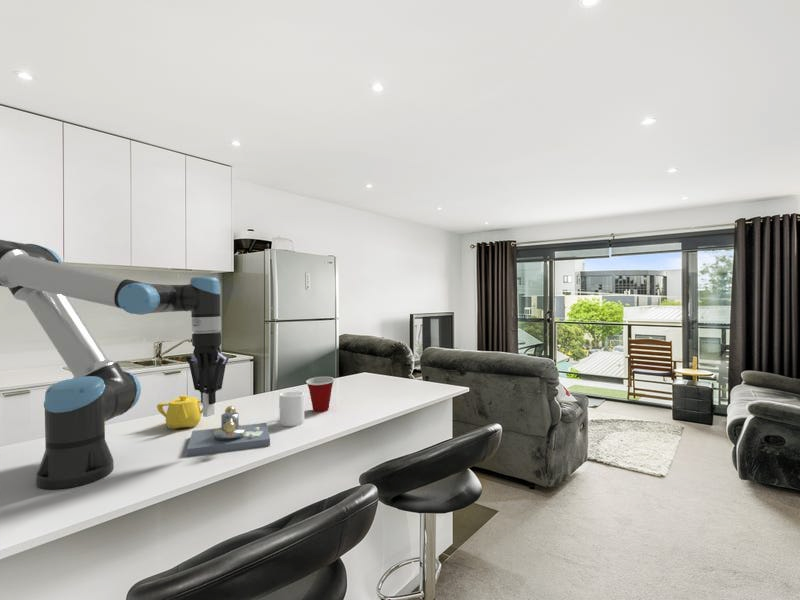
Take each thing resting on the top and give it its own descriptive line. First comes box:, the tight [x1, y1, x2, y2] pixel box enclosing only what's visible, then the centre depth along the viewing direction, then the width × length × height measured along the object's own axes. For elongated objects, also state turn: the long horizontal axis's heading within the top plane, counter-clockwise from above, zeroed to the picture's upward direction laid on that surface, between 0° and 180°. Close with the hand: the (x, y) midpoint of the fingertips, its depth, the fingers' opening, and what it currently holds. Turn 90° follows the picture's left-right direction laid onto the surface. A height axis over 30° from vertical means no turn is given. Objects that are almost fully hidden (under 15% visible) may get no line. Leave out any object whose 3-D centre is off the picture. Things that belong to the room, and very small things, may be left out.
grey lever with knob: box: [214, 405, 246, 440], centre depth 128 cm, size 21×9×6 cm, turn 21°
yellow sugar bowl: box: [156, 394, 203, 430], centre depth 145 cm, size 14×13×10 cm
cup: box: [278, 390, 305, 427], centre depth 148 cm, size 8×12×10 cm
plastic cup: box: [305, 376, 335, 413], centre depth 163 cm, size 11×11×12 cm
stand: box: [186, 422, 271, 457], centre depth 129 cm, size 22×17×3 cm
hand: (208, 415), depth 120 cm, fingers closed
